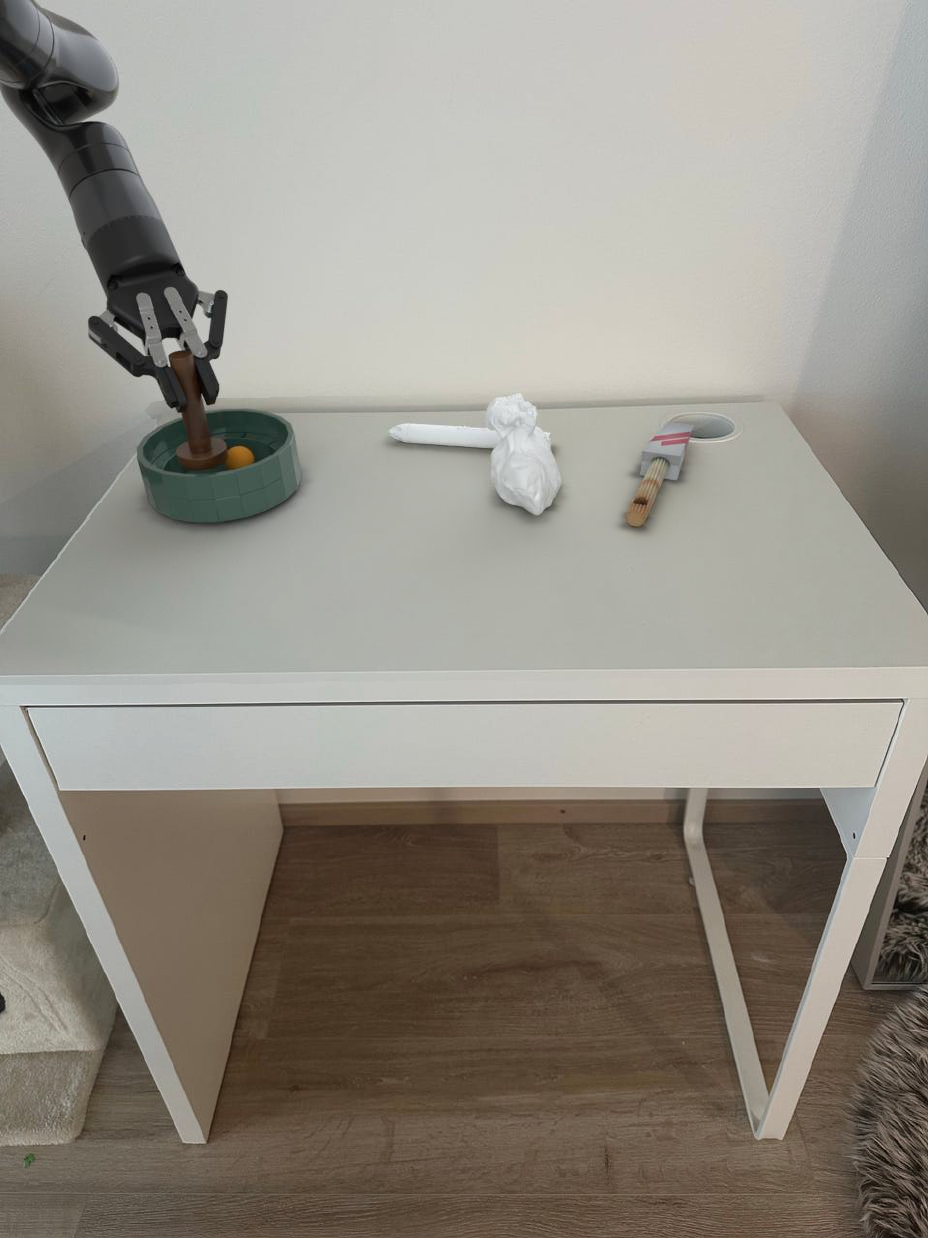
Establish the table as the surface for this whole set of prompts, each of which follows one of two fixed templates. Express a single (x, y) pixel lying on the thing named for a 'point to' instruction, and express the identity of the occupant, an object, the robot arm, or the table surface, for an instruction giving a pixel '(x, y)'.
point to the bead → (239, 458)
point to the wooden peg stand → (195, 419)
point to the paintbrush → (659, 467)
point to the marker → (448, 435)
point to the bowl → (221, 468)
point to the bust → (521, 455)
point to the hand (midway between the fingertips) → (197, 404)
